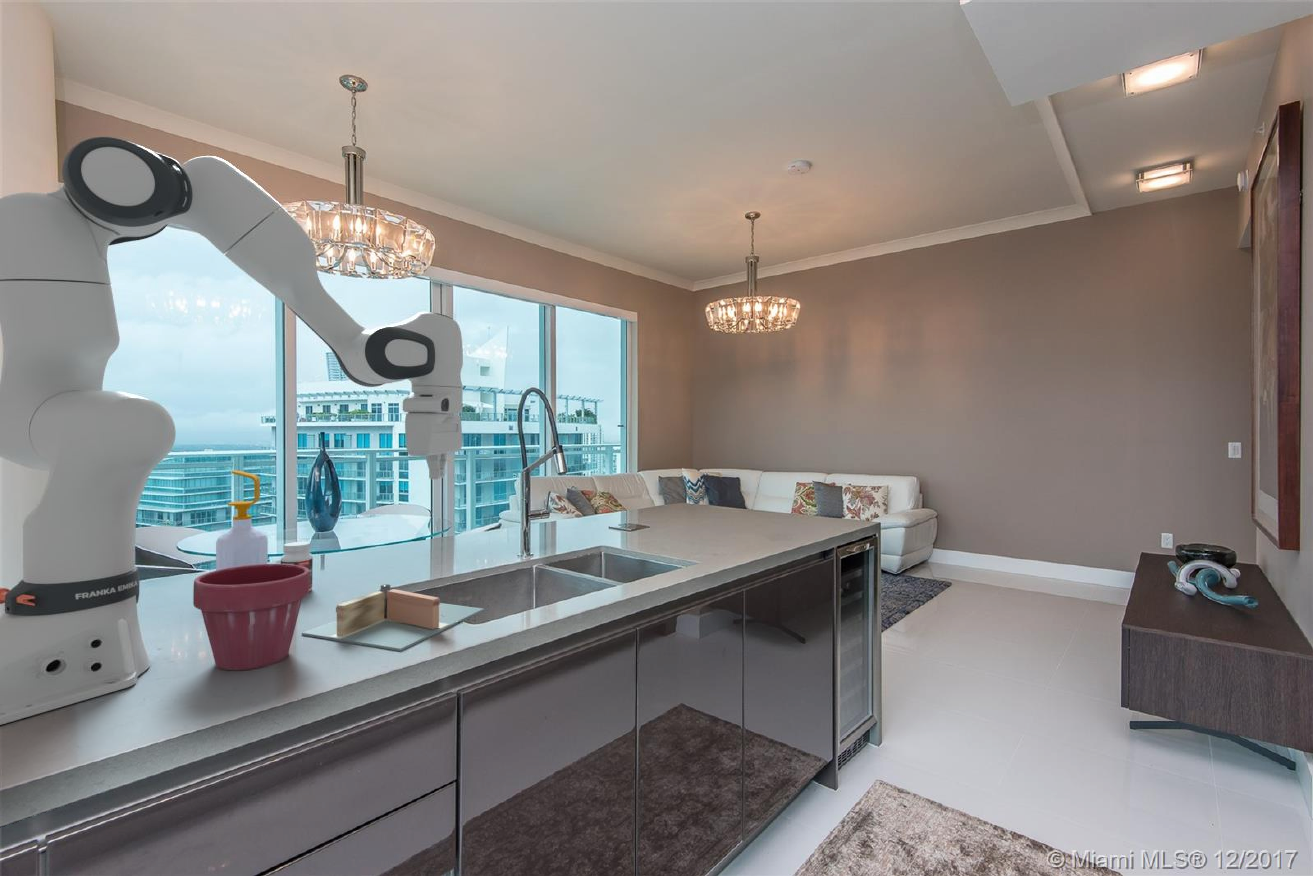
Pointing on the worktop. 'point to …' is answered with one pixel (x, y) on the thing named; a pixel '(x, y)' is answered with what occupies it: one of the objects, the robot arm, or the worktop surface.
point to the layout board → (395, 629)
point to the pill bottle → (298, 556)
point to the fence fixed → (360, 613)
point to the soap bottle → (242, 536)
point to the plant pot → (251, 612)
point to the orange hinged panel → (413, 608)
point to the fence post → (384, 589)
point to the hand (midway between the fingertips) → (436, 478)
